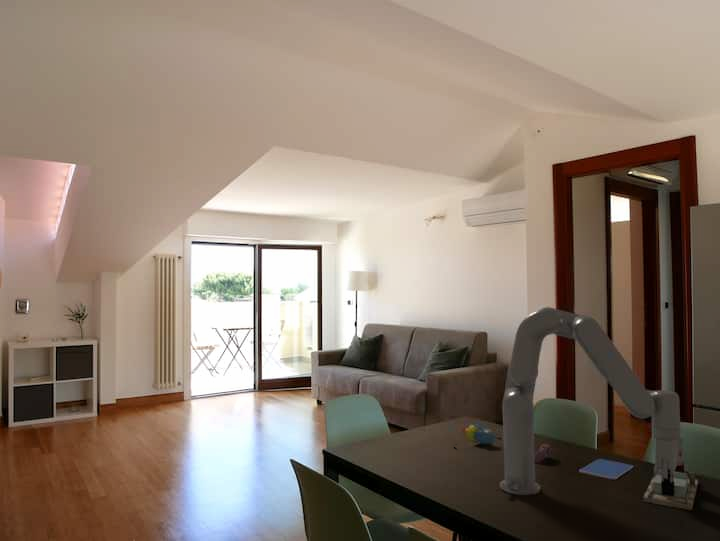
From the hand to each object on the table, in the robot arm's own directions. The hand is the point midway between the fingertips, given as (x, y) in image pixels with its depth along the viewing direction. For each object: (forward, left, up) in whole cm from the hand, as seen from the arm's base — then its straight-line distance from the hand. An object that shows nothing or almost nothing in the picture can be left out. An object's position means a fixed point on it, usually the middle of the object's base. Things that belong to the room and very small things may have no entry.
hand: (668, 494), depth 162 cm
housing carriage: (+7, 0, -1) cm, 7 cm away
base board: (+10, 0, -2) cm, 10 cm away
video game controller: (+21, +44, -3) cm, 49 cm away
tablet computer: (+22, +21, -3) cm, 31 cm away
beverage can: (+16, 0, -1) cm, 16 cm away
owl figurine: (+29, +73, -3) cm, 78 cm away
